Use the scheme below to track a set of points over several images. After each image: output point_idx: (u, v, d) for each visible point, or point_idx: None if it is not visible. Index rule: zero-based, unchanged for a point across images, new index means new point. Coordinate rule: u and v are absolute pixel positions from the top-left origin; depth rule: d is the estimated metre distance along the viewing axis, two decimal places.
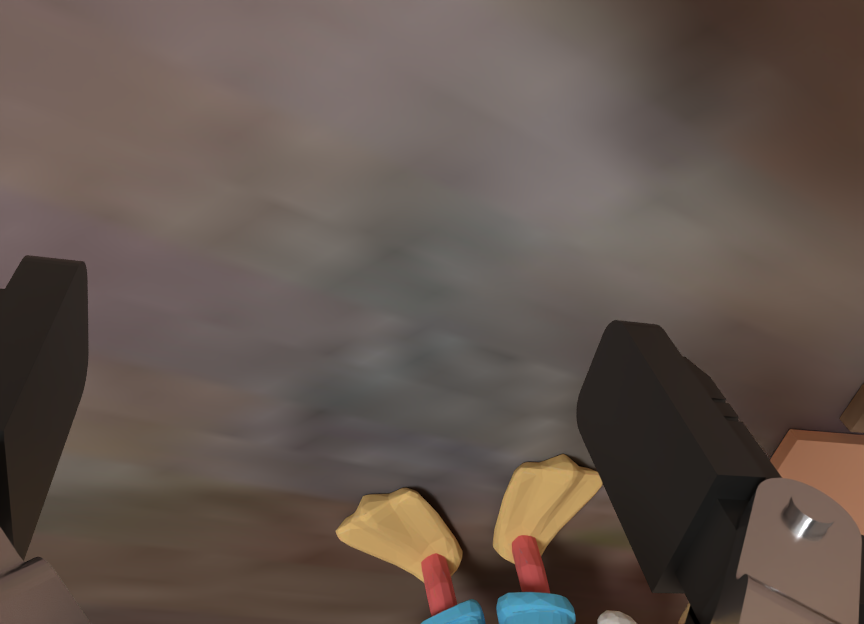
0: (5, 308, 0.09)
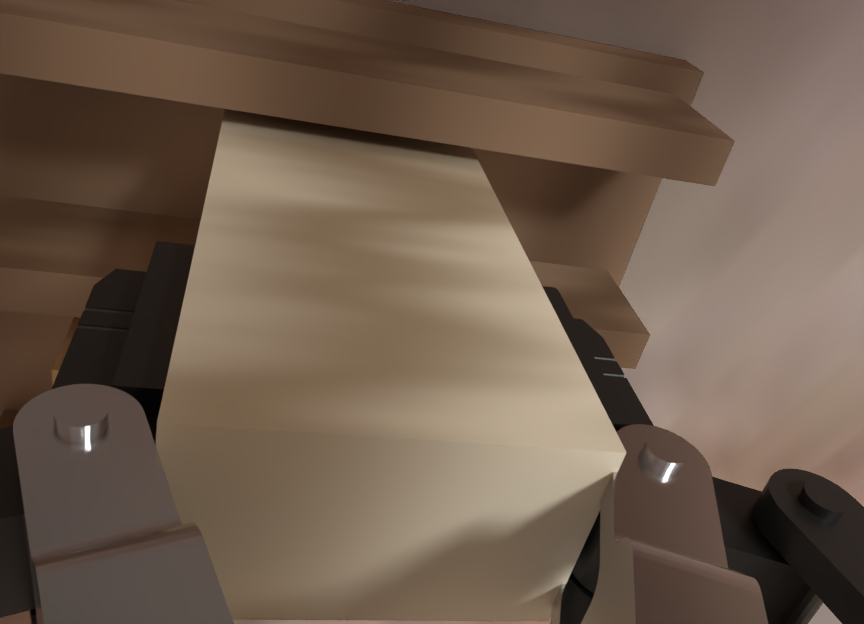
0: (152, 286, 0.10)
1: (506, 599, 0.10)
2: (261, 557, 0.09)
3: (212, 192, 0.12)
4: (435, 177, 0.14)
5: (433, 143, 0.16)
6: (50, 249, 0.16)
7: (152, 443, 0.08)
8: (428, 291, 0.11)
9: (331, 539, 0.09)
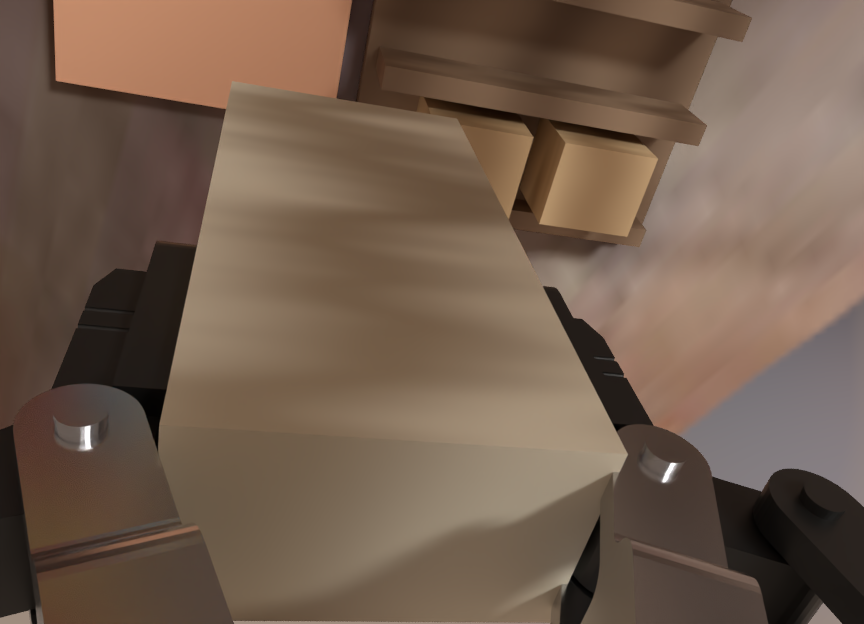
0: (152, 286, 0.10)
1: (506, 601, 0.10)
2: (263, 559, 0.09)
3: (213, 193, 0.12)
4: (436, 179, 0.14)
5: (434, 144, 0.16)
6: (425, 67, 0.33)
7: (152, 443, 0.08)
8: (429, 293, 0.11)
9: (333, 540, 0.09)
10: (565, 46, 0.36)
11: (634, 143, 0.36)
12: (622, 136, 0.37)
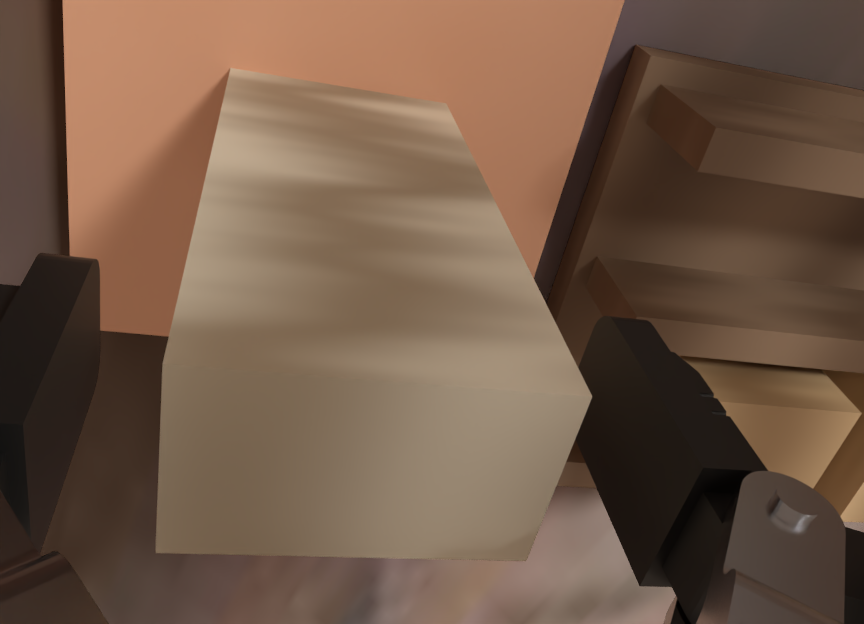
0: (21, 304, 0.09)
1: (485, 539, 0.11)
2: (258, 494, 0.10)
3: (212, 168, 0.13)
4: (423, 157, 0.15)
5: (423, 126, 0.17)
6: (688, 304, 0.20)
7: None
8: (413, 257, 0.12)
9: (322, 478, 0.10)
10: None
11: None
12: None
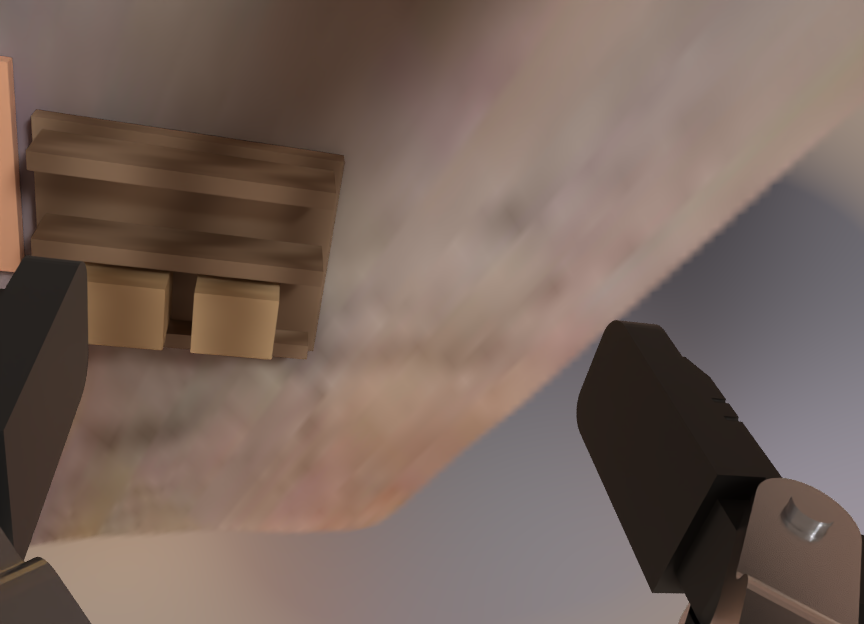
0: (5, 308, 0.09)
1: None
2: None
3: None
4: None
5: None
6: (73, 235, 0.41)
7: None
8: None
9: None
10: (207, 207, 0.44)
11: (269, 285, 0.44)
12: None
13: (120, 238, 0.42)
